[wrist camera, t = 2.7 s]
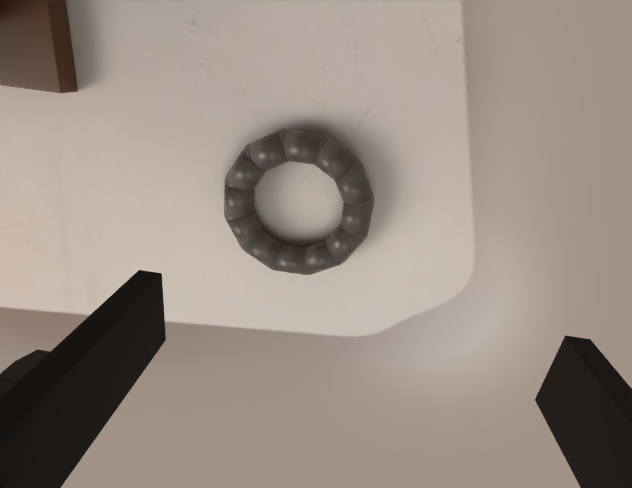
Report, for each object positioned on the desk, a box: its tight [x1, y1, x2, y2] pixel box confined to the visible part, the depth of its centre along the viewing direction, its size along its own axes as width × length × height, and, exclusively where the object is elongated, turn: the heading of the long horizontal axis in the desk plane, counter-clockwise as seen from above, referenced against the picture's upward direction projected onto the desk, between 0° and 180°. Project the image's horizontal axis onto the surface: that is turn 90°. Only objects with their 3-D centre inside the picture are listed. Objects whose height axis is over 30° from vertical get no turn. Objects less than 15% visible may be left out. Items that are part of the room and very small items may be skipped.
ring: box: [224, 129, 374, 275], centre depth 24 cm, size 9×9×2 cm
